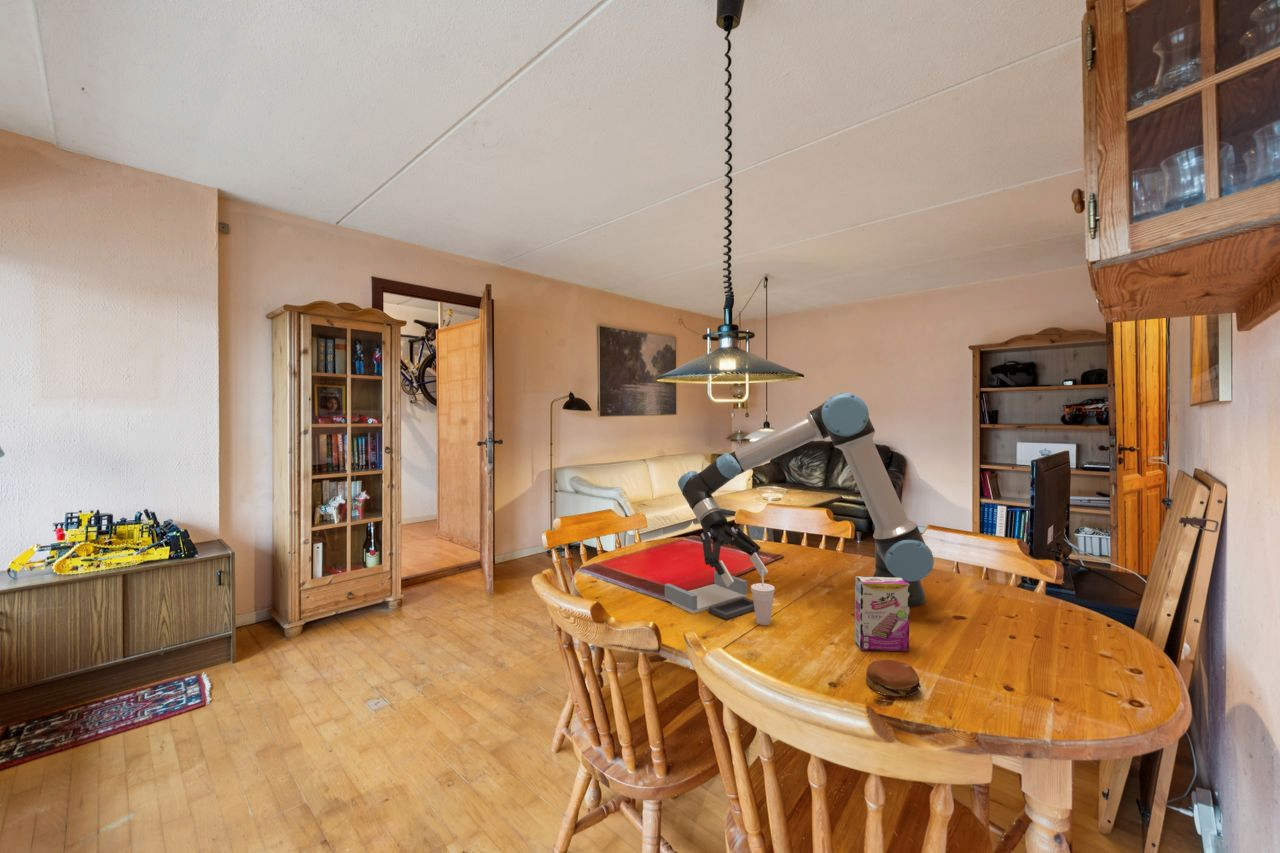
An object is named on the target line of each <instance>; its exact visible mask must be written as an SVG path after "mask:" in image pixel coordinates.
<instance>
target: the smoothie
mask: <svg viewBox="0 0 1280 853" xmlns="http://www.w3.org/2000/svg"><path fill="white" fill-rule="evenodd" d="M750 591H751V592H752V600H753V602H754V609H755V611H754V615H755V622H756V624H757V625H760V626H769V625H770V624H771V620H772V610H773V603H774V593H775V592H776V588H775V586H774V585H772V584H769V583H765V576H764V570H762V577H761V582H759V583H753V584H752V585H750Z"/></svg>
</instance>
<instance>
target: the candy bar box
mask: <svg viewBox="0 0 1280 853" xmlns="http://www.w3.org/2000/svg"><path fill="white" fill-rule="evenodd" d="M909 591H910V584H909V583H908V582H906V581H905V580H904V579H902V578H896V577H873V576H854V642H855V644H856V645H857V647H858V648H859V650H860V651H871V652H873V651H874V652H876V651H877V652H899V651H908V652H907V653H909V651H910V606H909V593H910V592H909Z"/></svg>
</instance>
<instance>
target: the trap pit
mask: <svg viewBox="0 0 1280 853" xmlns="http://www.w3.org/2000/svg"><path fill="white" fill-rule="evenodd" d="M708 608H709V609H708V614H710V615H713V616H715V617H718V618H720V619H722V620H725V621H729V620H732V619H734V618H737V617H740V616H743V615H746V614H751V613H752V612H755V609H754V602H753V599H750V598H748V597H746V598H745V597H741V598H737V599H734V600H731V601H728V602H725V603H721V604H718V605H715V606H712V607H708Z"/></svg>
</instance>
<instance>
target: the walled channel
mask: <svg viewBox="0 0 1280 853" xmlns="http://www.w3.org/2000/svg"><path fill="white" fill-rule="evenodd" d="M713 572H714V573H713V578H714V580H713V581H714V583H713V584H709V585H706V586H702V587H698V588H694V589H692V590H685V589H683V588H680V587H678V586H676V585H674V584H671V583H665V584H664V600H665V599H667V600H669V601H670V602H671V603H672V604H671V603H670V604H671V605H673V606H675V607H677V608H679V609H681V610H683V611H686V612H687V613H689V614H692V615H693V614H697V613H700V612H703V611H704V612H705V611H706V610H709V608H708V607H712V606H715V605H718V604H721V603H725V602H728V601H731V600H734V599H737V598H741V597H746V598H748V580H745V579H743V578H740V577H737V576H734V575H731V574H730V575H731V577H732V578H733V580H734V582H733V583H732V584H731V585H730V586H729V587H727V586H726V584H725V582H724V581H723V579H722V577H721V575H719V574H718V573H717V571H716V570H714V571H713Z"/></svg>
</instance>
